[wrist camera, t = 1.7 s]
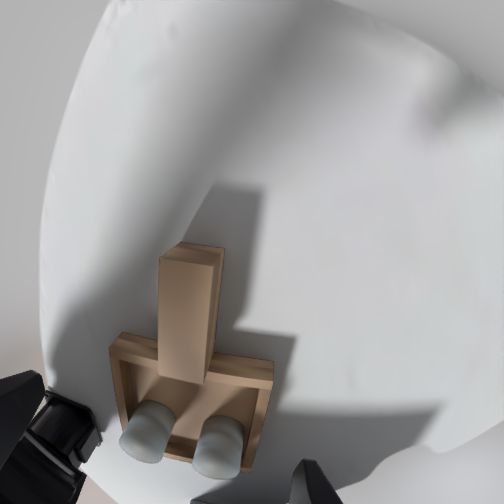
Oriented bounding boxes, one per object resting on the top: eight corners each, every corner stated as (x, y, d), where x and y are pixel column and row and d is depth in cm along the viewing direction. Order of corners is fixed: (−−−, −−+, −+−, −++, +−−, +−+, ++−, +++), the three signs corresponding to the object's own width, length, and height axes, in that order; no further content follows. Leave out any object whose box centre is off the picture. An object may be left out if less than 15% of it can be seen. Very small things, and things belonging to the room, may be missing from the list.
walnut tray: (134, 428, 25) (115, 466, 19) (121, 233, 20) (77, 252, 14) (251, 453, 24) (247, 497, 19) (293, 258, 19) (301, 289, 14)
